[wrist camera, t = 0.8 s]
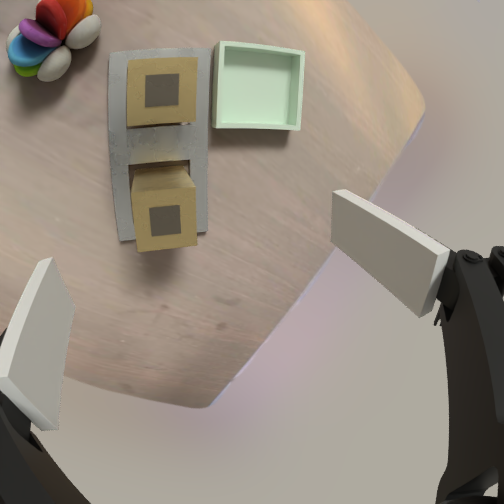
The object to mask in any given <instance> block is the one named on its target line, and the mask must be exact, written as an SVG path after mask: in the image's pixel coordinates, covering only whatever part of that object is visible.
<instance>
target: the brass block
mask: <svg viewBox="0 0 504 504" xmlns="http://www.w3.org/2000/svg"><path fill="white" fill-rule="evenodd" d="M131 200H132V210H133V219H134V228H135V236H136V243H137V250H138V252H145V251H154V250H162V249H171V248H179V247H188V246H197V221H196V186H195V185H194V183H193V181H192V180H191V178H190V177H189V175H188V173H187V172H186V170H185V168H184V167H183V165H177V166H165V167H153V168H143V169H135V174H134V179H133V184H132V189H131Z"/></svg>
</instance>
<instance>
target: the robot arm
mask: <svg viewBox="0 0 504 504" xmlns="http://www.w3.org/2000/svg"><path fill="white" fill-rule="evenodd" d="M331 242H332V243H333V244H334V245H335V246H337V247H338V248H339V249H340V250H342V251H343V252H344V253H345V254H346V255H348V256H349V257H350V258H351V259H352V260H354V261H355V262H356V263H357V264H358V265H359V266H361V267H362V268H363V269H364V270H365V271H367V272H368V273H369V274H370V275H371V276H372V277H374V278H375V279H376V280H377V281H378V282H379V283H381V284H382V285H383V286H384V287H385V288H386V289H388V290H389V291H390V292H391V293H392V294H393V295H394V296H395V297H397V298H398V299H399V300H400V301H401V302H402V303H403V304H404V305H405V306H407V307H408V308H409V309H410V310H411V311H412V312H414V314H415V315H417V316H418V317H419V318H420V317H422V316H424V315H426V314H427V313H429V312H431V311H432V309H433V306H434V303H435V300H436V298H437V299H438V300H439V301H440V302H441V305H440V308H439V310H438V313H437V315H436V318H435V321H434V326H436V324H437V322H438V320H439V319H441V323H440V326H442V332H443V339H444V347H445V355H446V366H447V378H448V395H449V450H448V463H447V467H446V470H445V472H444V474H443V476H442V478H441V480H440V483H439V486H438V490H437V497H436V503H435V504H504V301H503V296H504V247H503V246H495V247H493V248H492V250H491V254H490V257H489V258H483V257H482V256H481V255H479V254H478V253H475V252H474V251H469V250H460V251H458V252H457V253H456V252H454V251H453V250H451V249H449V248H448V247H446V246H445V245H443V244H442V243H440V242H438V241H437V240H435V239H433V238H432V237H430V236H429V235H426V234H425V233H424V232H422V231H421V230H419V229H417V228H415V227H413V226H411V225H409V224H408V223H406V222H404V221H403V220H401V219H399V218H397V217H396V216H394V215H392V214H390V213H389V212H387V211H385V210H383V209H381V208H379V207H378V206H376V205H374V204H372V203H370V202H369V201H367V200H365V199H363V198H361V197H359V196H357V195H355V194H353V193H351V192H349V191H348V190H346V189H343V190H337V191H332V221H331ZM75 308H76V307H75V305H74V303H73V301H72V299H71V297H70V295H69V292H68V290H67V288H66V286H65V284H64V282H63V279H62V277H61V275H60V273H59V270H58V268H57V266H56V263H55V261H54V259H53V257H51V258H48V259H44V260H41V261H39V262H38V264H37V266H36V268H35V270H34V272H33V274H32V276H31V277H30V279H29V281H28V283H27V286H26V288H25V290H24V292H23V294H22V296H21V298H20V300H19V302H18V305H17V307H16V309H15V312H14V314H13V316H12V319H11V321H10V323H9V326H8V328H6V329H5V331H4V332H3V333H2V335H1V336H0V504H91V503H90V502H89V501H88V500H87V499H86V498H85V497H84V496H83V495H82V494H81V493H80V492H79V490H78V489H77V488H76V487H75V486H74V485H73V484H72V482H71V481H70V480H69V479H68V478H67V477H66V476H65V474H64V473H63V472H62V471H61V469H60V468H59V467H58V465H57V464H56V463H55V462H54V460H53V459H52V458H51V456H50V455H49V454H48V452H47V451H46V449H45V448H44V447H43V445H42V444H41V443H40V441H39V440H38V438H37V437H36V435H35V434H33V432H32V431H30V427H31V422H32V423H33V424H34V425H35V426H37V427H38V428H39V429H40V430H41V431H45V430H58V429H59V413H60V401H61V391H62V382H63V374H64V367H65V360H66V354H67V348H68V342H69V337H70V331H71V326H72V322H73V317H74V312H75ZM496 483H498V496H497V497H490V496H483V495H484V493H485V491H486V490H487V489H488V488H489V487H491V486H493V485H494V484H496Z"/></svg>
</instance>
